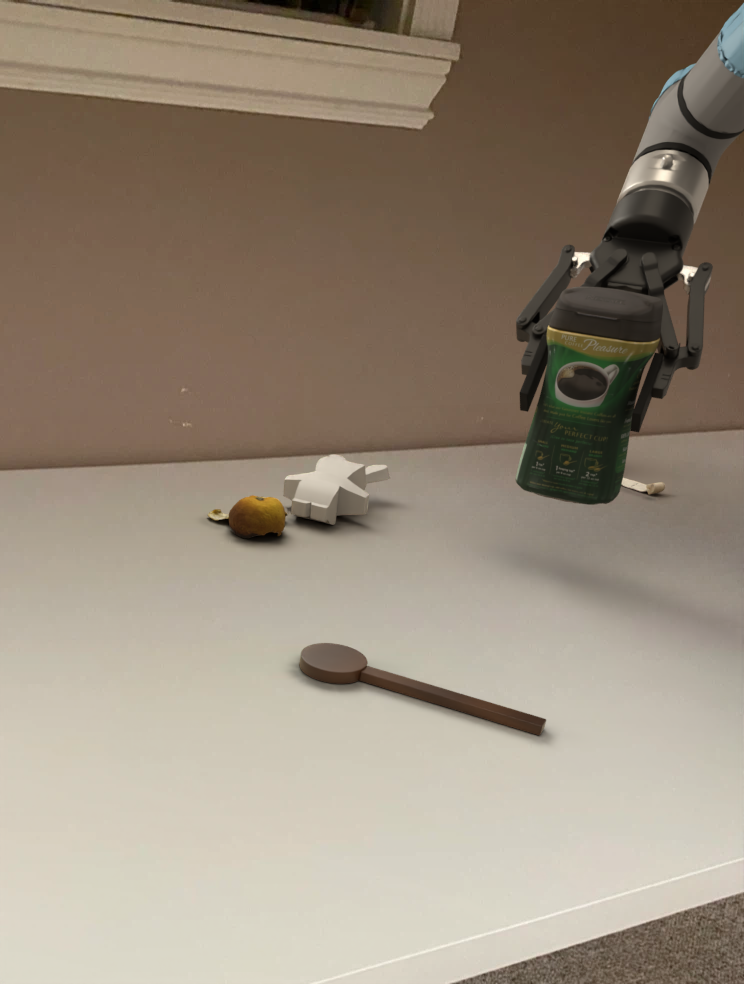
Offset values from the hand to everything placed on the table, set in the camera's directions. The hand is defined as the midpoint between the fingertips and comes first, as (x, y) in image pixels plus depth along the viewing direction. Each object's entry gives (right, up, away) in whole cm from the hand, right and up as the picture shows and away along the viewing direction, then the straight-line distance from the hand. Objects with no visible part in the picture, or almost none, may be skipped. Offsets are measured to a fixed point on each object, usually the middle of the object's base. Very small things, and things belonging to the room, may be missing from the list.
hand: (578, 412), depth 100 cm
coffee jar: (+1, -6, +7) cm, 9 cm away
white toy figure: (-20, -5, +21) cm, 29 cm away
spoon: (-18, -26, -16) cm, 36 cm away
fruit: (-29, -8, +14) cm, 33 cm away
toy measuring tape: (+17, +4, +43) cm, 46 cm away
